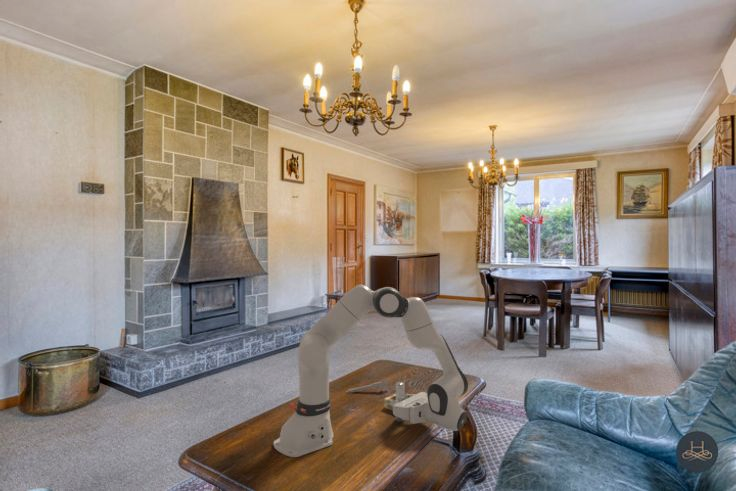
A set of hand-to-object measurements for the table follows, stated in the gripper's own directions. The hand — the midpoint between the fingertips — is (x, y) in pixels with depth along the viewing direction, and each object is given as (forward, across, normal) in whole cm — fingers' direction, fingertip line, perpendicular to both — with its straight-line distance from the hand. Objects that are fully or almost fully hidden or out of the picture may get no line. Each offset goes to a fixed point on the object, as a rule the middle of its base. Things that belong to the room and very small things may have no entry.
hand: (398, 399), depth 162 cm
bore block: (+7, -9, +8) cm, 14 cm away
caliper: (+30, -13, +9) cm, 34 cm away
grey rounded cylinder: (-1, 0, +8) cm, 8 cm away
